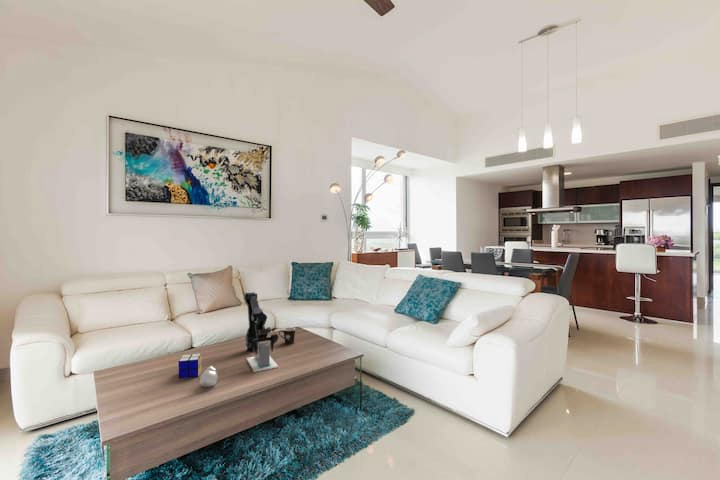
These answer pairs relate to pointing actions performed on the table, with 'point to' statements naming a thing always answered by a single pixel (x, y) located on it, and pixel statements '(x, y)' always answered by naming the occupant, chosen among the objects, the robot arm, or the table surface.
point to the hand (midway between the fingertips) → (264, 352)
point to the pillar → (264, 354)
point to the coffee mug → (288, 335)
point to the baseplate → (256, 367)
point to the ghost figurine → (209, 377)
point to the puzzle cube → (190, 366)
